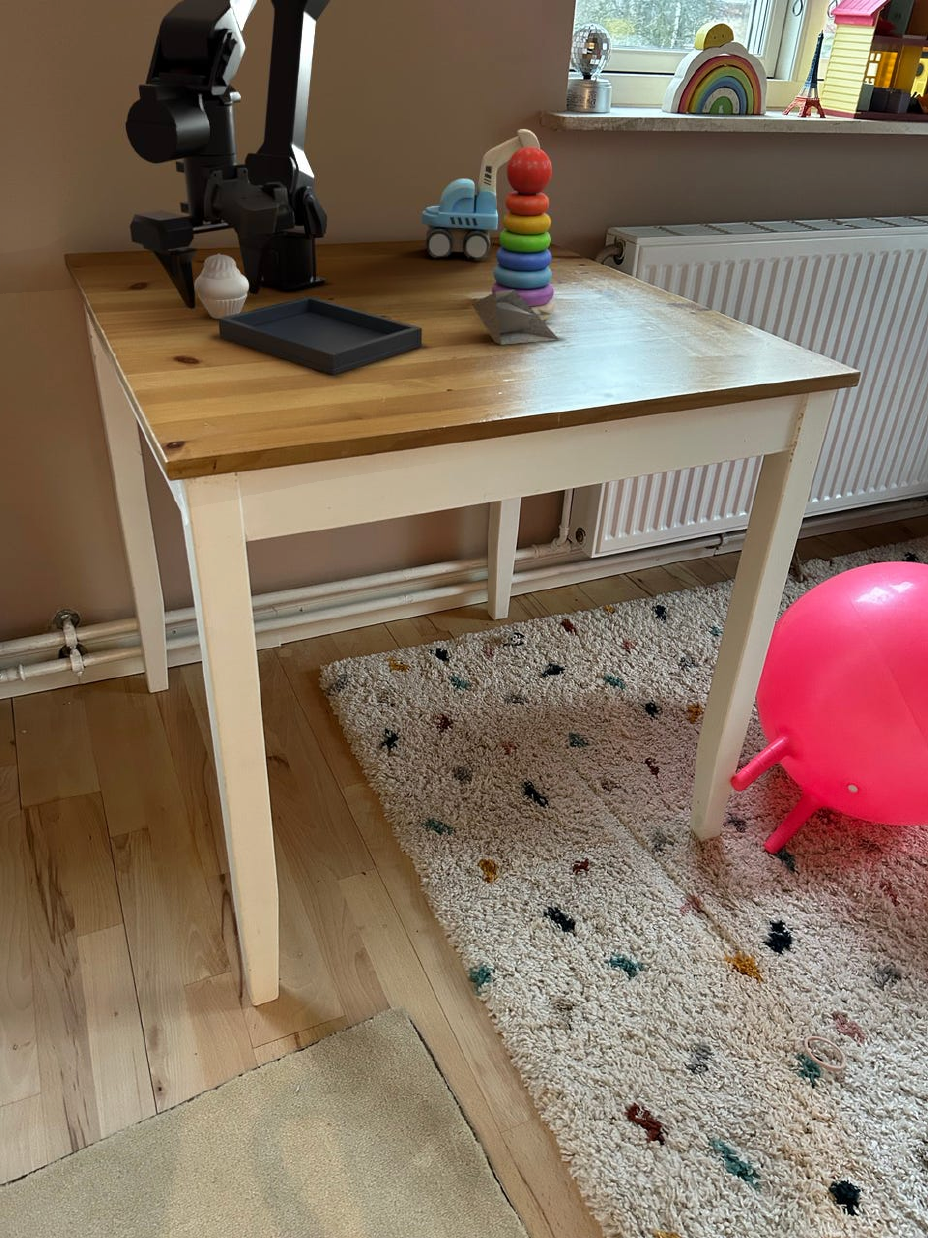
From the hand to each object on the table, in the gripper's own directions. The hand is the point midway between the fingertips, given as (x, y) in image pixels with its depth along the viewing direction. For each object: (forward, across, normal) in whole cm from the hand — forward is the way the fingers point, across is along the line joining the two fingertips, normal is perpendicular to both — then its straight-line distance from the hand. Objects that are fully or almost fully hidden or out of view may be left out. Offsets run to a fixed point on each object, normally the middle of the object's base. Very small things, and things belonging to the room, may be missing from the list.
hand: (223, 300), depth 111 cm
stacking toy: (+2, +26, -24) cm, 35 cm away
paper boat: (+2, +16, -30) cm, 34 cm away
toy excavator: (+2, +48, 0) cm, 48 cm away
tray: (+2, +1, -15) cm, 15 cm away
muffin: (+2, 0, 0) cm, 2 cm away
